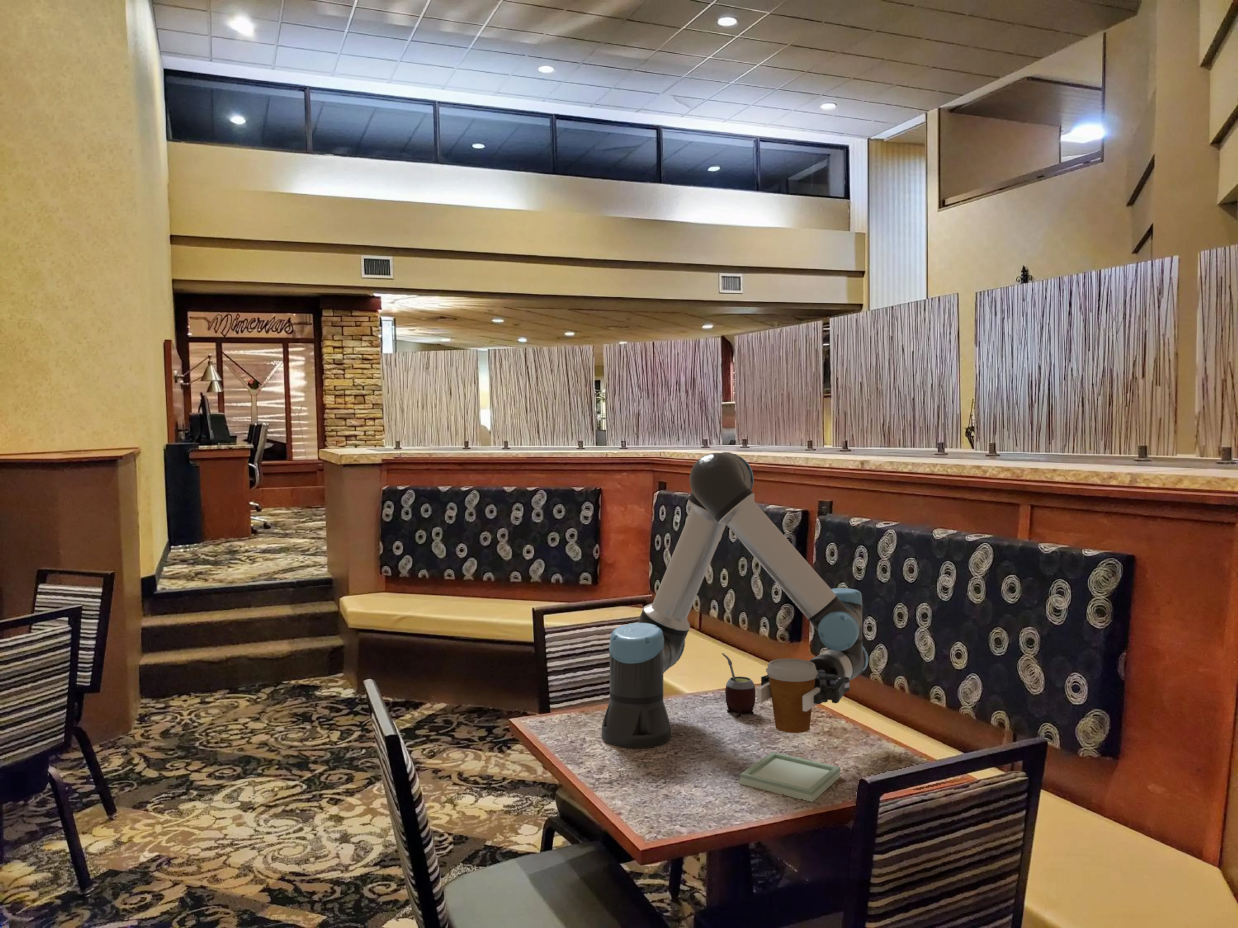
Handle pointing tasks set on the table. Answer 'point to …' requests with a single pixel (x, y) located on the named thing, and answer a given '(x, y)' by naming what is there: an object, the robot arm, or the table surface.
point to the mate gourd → (739, 693)
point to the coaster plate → (790, 776)
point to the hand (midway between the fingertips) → (781, 699)
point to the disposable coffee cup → (791, 693)
